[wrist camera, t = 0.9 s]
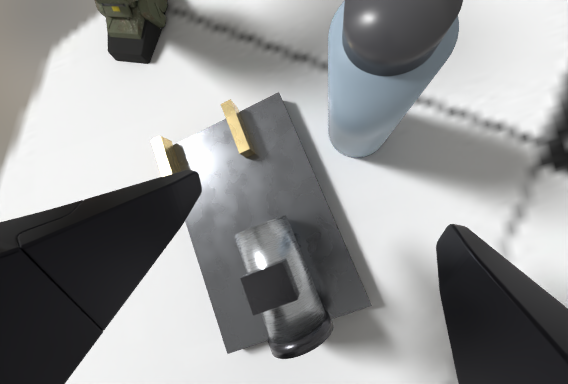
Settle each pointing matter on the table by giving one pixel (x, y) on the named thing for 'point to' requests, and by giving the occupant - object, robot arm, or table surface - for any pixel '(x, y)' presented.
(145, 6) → the mechanical leg
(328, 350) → the table surface
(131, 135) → the table surface
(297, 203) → the plate
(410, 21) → the bottle
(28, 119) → the table surface
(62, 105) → the table surface
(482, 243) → the robot arm
